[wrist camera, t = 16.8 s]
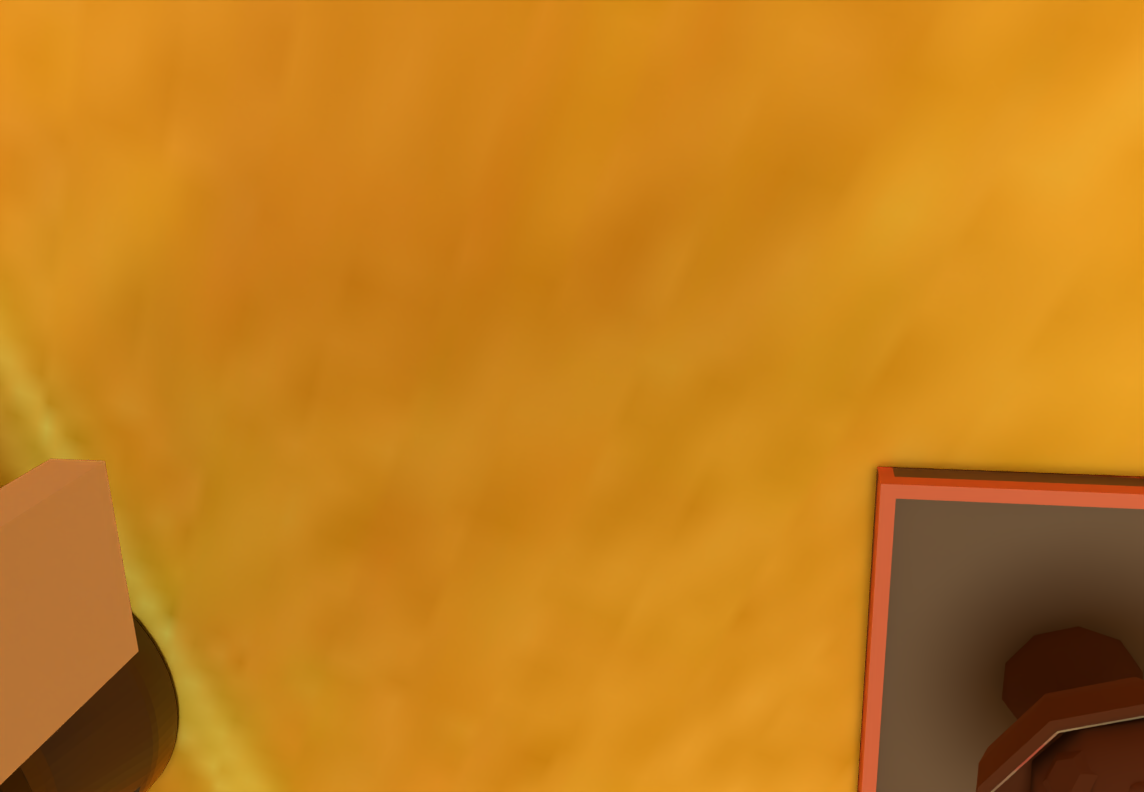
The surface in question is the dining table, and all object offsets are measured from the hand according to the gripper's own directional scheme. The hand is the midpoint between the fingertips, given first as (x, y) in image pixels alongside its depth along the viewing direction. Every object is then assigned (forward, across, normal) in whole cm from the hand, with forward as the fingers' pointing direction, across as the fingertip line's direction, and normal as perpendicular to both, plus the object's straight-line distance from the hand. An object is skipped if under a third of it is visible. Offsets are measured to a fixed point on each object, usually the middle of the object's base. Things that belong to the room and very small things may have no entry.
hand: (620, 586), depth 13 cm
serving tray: (+32, +14, -20) cm, 40 cm away
